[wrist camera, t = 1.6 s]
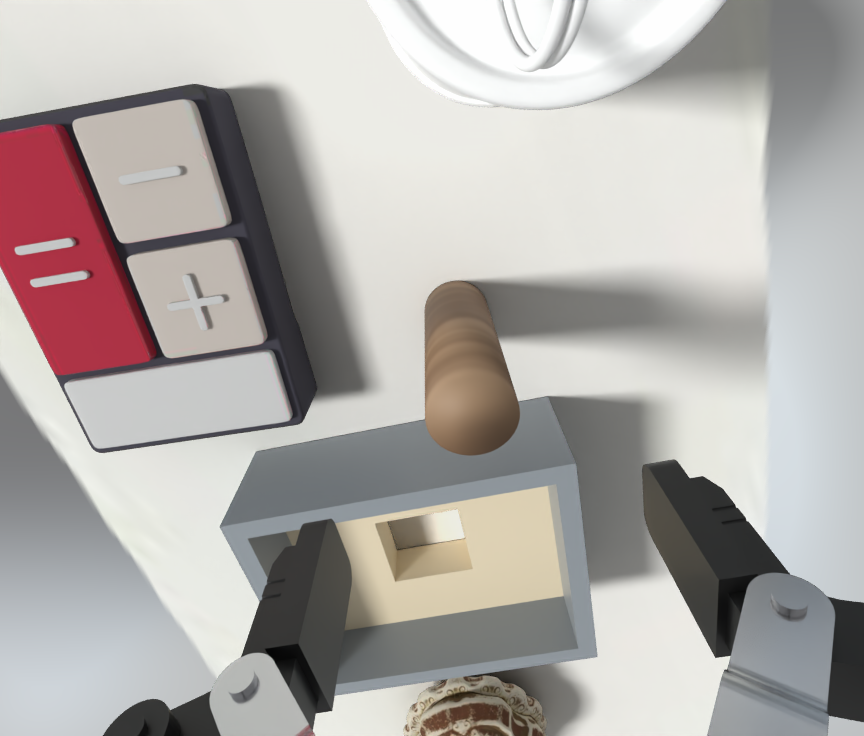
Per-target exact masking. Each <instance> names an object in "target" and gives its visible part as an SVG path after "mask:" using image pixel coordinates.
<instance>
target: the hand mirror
mask: <svg viewBox="0 0 864 736" xmlns="http://www.w3.org/2000/svg"><path fill="white" fill-rule="evenodd" d="M546 725H547V720H546V718H545V716H543V715H542V706H541V705H540V704H539V702H538V701H537V700H536V699H535V698H533V697H531V696H527V695H526V693H525V691H524V690H523V689H522V688H520V687H518V686H516V685H515V684H508V683H504V682H501V681H500V680H499V679H498V678H497V677H492V676H481V677H468V676H465V677H458V678H451V679H448V680H447V681H445V682H444V683H442V684H440V685H438V686H434V687H429V688H428V689H426V690H425V691H423V692H422V693H421V694H420V695H419V697H418V702H417V703H415V704H413V705H412V706H411V707H410V709H409V712H408V715H407V724H406V725H405V727H404V729H403V732H404V736H546V733H545V729H546Z"/></svg>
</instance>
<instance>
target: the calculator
mask: <svg viewBox="0 0 864 736" xmlns="http://www.w3.org/2000/svg"><path fill="white" fill-rule="evenodd" d="M0 267H1V269H2V271H3V273H4V275H5V277H6V279H7V281H8V283H9V285H10V287H11V289H12V291H13V293H14V295H15V297H16V299H17V301H18V303H19V305H20V307H21V309H22V311H23V313H24V315H25V317H26V319H27V321H28V323H29V325H30V327H31V329H32V331H33V333H34V335H35V337H36V339H37V341H38V343H39V345H40V347H41V349H42V351H43V353H44V355H45V357H46V359H47V361H48V363H49V365H50V367H51V368H52V370H53V372H54V374H55V376H56V378H57V380H58V382H59V384H60V386H61V388H62V390H63V392H64V394H65V396H66V398H67V400H68V402H69V404H70V406H71V408H72V410H73V412H74V414H75V416H76V418H77V420H78V422H79V424H80V426H81V428H82V430H83V432H84V434H85V436H86V438H87V440H88V442H89V444H90V445H91V447H92V449H93V450H95V451H96V452H99V453H106V452H113V451H120V450H127V449H134V448H141V447H148V446H155V445H161V444H168V443H175V442H182V441H189V440H196V439H203V438H210V437H217V436H223V435H230V434H237V433H244V432H251V431H258V430H265V429H272V428H278V427H285V426H292V425H298V424H300V423H302V422H303V420H304V418H305V416H306V414H307V412H308V409H309V407H310V405H311V402H312V400H313V398H314V396H315V393H316V391H317V386H316V382H315V379H314V375H313V372H312V369H311V365H310V362H309V359H308V355H307V352H306V349H305V345H304V342H303V339H302V335H301V332H300V329H299V325H298V323H297V321H296V319H295V318H294V314H293V311H292V307H291V304H290V300H289V297H288V293H287V290H286V286H285V283H284V279H283V276H282V272H281V268H280V265H279V261H278V258H277V254H276V251H275V247H274V244H273V240H272V236H271V233H270V229H269V226H268V222H267V219H266V215H265V212H264V208H263V205H262V202H261V198H260V195H259V191H258V188H257V185H256V181H255V178H254V175H253V171H252V168H251V164H250V161H249V158H248V154H247V151H246V148H245V144H244V141H243V137H242V134H241V131H240V127H239V124H238V121H237V117H236V114H235V111H234V107H233V104H232V101H231V98H230V96H229V95H228V94H227V93H226V92H225V91H223V90H221V89H217V88H212V87H208V86H203V85H198V84H191V85H185V86H179V87H174V88H169V89H163V90H158V91H153V92H147V93H142V94H137V95H131V96H126V97H120V98H115V99H110V100H104V101H99V102H94V103H88V104H83V105H78V106H72V107H67V108H62V109H56V110H51V111H46V112H40V113H35V114H30V115H24V116H19V117H13V118H8V119H3V120H0Z"/></svg>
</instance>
